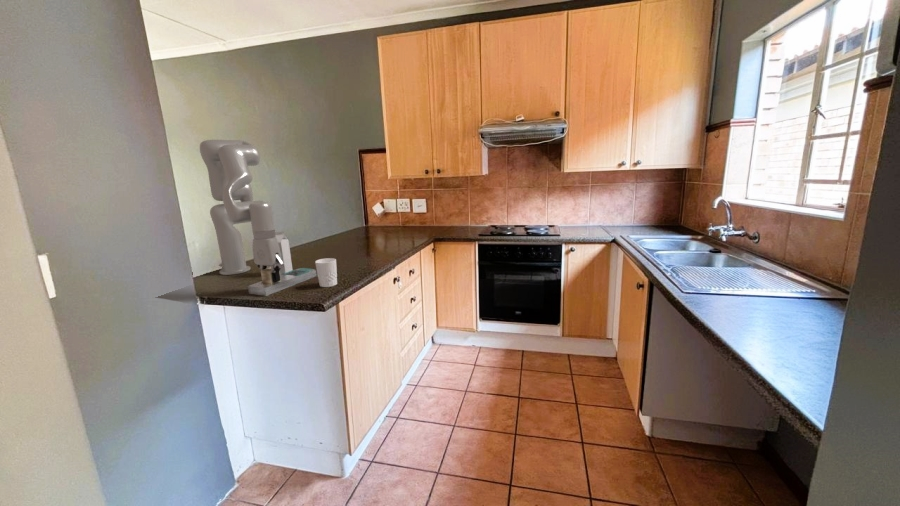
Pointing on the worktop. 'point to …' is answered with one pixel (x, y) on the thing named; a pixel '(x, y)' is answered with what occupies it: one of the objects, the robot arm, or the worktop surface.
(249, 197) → the robot arm
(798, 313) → the worktop surface
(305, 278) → the white flat bar
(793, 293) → the worktop surface
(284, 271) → the milk carton
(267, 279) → the maple block
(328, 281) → the white cup
